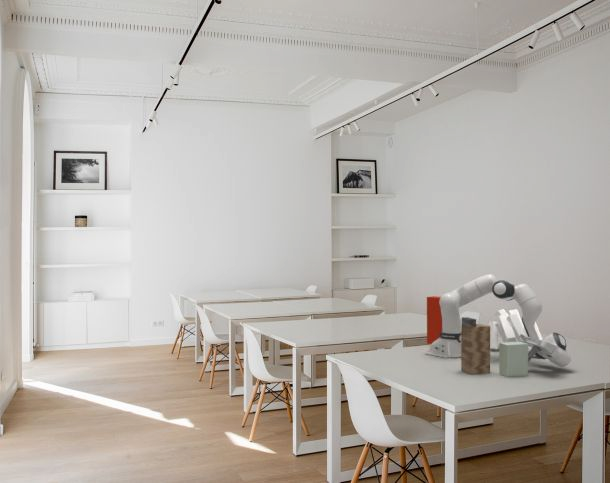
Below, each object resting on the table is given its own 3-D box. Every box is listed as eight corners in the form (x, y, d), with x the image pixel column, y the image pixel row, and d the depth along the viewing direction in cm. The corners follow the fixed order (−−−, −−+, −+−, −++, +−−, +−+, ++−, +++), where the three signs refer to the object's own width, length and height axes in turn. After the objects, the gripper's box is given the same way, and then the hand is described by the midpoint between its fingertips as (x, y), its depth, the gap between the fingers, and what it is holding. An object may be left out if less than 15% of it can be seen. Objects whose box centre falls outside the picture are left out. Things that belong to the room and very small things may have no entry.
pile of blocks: (554, 363, 360) (545, 310, 376) (538, 351, 339) (529, 295, 355) (500, 371, 379) (493, 320, 395) (481, 360, 358) (475, 307, 375)
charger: (537, 343, 311) (527, 339, 310) (540, 350, 306) (529, 346, 305) (519, 365, 320) (508, 361, 318) (521, 371, 315) (510, 367, 314)
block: (519, 372, 311) (519, 341, 311) (527, 375, 305) (527, 344, 305) (499, 373, 308) (499, 342, 308) (507, 376, 301) (507, 345, 301)
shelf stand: (480, 369, 319) (480, 316, 319) (490, 373, 310) (490, 318, 310) (461, 370, 315) (461, 317, 315) (470, 374, 307) (470, 319, 307)
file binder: (446, 347, 383) (446, 299, 383) (426, 343, 397) (426, 296, 397) (454, 346, 388) (454, 298, 388) (434, 342, 402) (434, 296, 402)
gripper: (535, 340, 322) (516, 328, 319) (560, 346, 302) (541, 334, 299) (530, 350, 321) (511, 338, 318) (555, 357, 301) (535, 345, 298)
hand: (526, 336), depth 308 cm, fingers open, 8 cm apart
